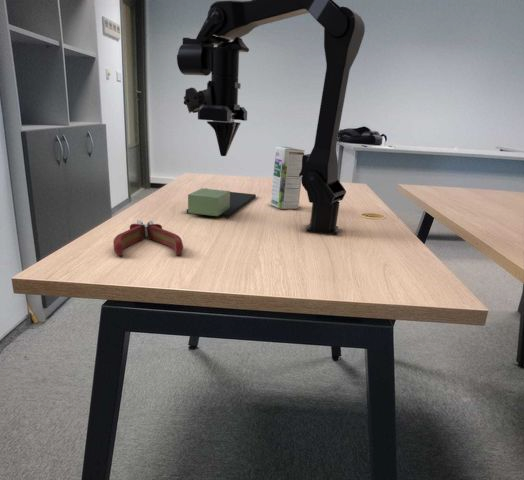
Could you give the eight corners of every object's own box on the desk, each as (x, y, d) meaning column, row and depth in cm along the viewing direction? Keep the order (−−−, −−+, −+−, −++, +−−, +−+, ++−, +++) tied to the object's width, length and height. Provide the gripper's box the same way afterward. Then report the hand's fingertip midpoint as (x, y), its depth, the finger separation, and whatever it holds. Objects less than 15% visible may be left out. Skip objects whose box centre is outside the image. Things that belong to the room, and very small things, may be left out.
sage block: (218, 197, 103) (230, 191, 112) (187, 194, 105) (202, 188, 113) (217, 216, 105) (229, 208, 114) (188, 212, 106) (201, 205, 115)
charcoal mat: (227, 217, 108) (228, 214, 108) (186, 213, 110) (186, 209, 109) (255, 197, 134) (255, 194, 134) (221, 193, 136) (222, 190, 136)
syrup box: (269, 205, 125) (274, 146, 119) (289, 204, 128) (294, 146, 121) (279, 209, 121) (284, 148, 114) (299, 209, 123) (305, 149, 116)
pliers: (173, 227, 96) (173, 214, 95) (184, 256, 79) (184, 241, 78) (115, 227, 94) (114, 214, 92) (113, 257, 76) (112, 241, 75)
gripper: (202, 77, 109) (202, 150, 116) (172, 71, 93) (174, 156, 100) (249, 80, 107) (246, 154, 114) (227, 74, 91) (225, 160, 98)
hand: (223, 156), depth 107 cm, fingers closed
